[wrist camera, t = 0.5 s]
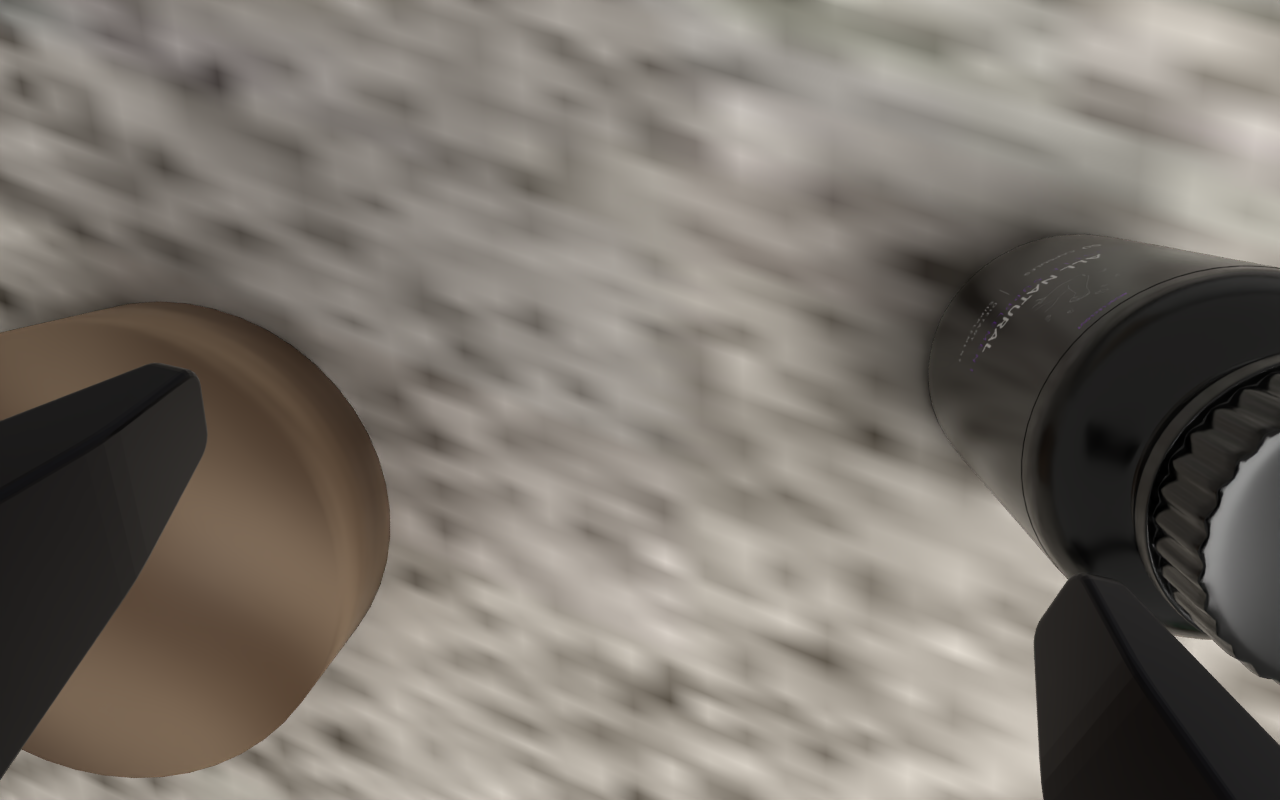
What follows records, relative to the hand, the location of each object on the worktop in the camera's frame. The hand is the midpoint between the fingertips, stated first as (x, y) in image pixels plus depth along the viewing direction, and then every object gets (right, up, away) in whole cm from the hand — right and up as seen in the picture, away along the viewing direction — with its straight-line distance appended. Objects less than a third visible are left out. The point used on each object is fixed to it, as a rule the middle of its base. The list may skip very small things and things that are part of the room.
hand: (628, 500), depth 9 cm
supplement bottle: (+11, +2, +15) cm, 19 cm away
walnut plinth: (-13, -2, +17) cm, 22 cm away
